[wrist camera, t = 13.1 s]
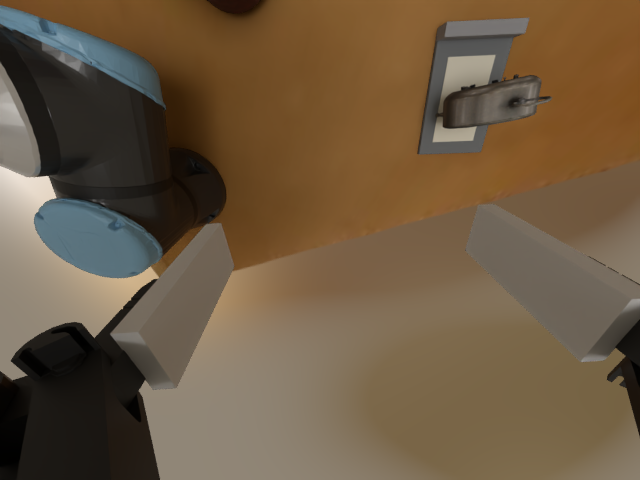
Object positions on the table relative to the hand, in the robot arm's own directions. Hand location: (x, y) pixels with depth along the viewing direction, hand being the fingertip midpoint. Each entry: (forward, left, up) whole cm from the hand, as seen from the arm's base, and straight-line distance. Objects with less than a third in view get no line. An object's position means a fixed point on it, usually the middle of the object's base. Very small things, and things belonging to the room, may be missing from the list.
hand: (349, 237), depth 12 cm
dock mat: (+22, +6, -35) cm, 41 cm away
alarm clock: (+22, +6, -34) cm, 41 cm away
